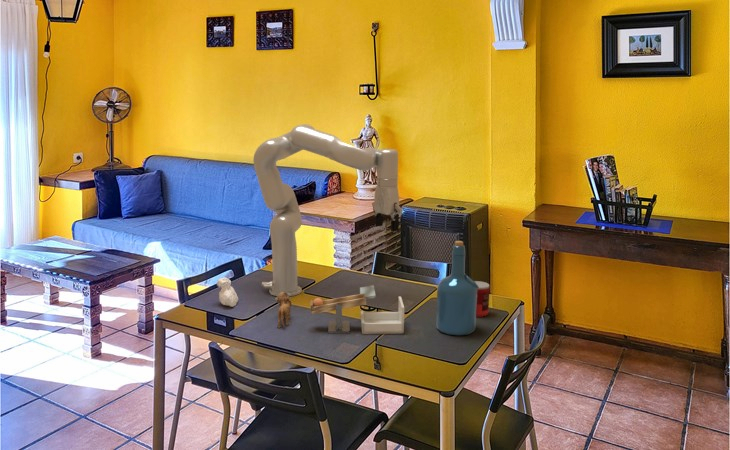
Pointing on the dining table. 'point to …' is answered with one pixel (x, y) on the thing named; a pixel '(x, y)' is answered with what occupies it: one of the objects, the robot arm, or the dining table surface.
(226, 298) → the duck figurine
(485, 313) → the canned food
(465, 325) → the wine bottle
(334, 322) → the fulcrum
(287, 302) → the lion figurine
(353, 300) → the lever
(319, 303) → the ball
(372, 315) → the bin
